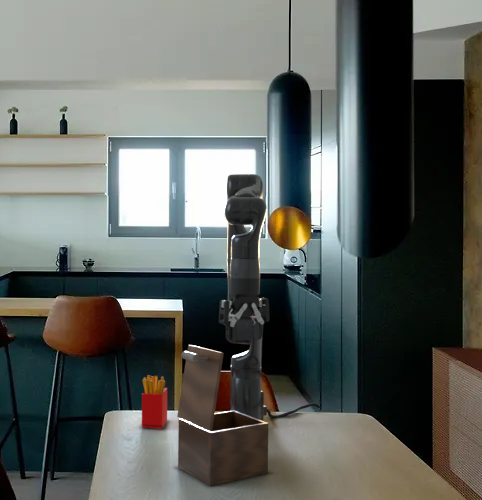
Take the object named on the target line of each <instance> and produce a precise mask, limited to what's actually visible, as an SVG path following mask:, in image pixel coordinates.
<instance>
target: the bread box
mask: <svg viewBox="0 0 482 500" xmlns="http://www.w3.org/2000/svg"><path fill="white" fill-rule="evenodd" d="M177 436H178V437H177V438H178V440H177V441H178V443H177V446H178V447H177V453H178V454H177V468H178V469H180V470H181V471H183V472H185V473H186V474H188V475H190V476H192V477H194V478H195V479H197V480H199V481H200V482H202V483H204V484H205V485H208V486H209V487H212V486H217V485H221V484H225V483H230V482H235V481H238V480H243V479H248V478H252V477H256V476H261V475H265V474H268V473H269V422H266V421H264V420H263V421H261V420H259V419H256V418H253V417H251V416H248V415H245V414H243V413H240V412H237V411H234V410H233V411H230V410H227V411H221V412H215V414H214V421H213V427H212V431H208V430H206V429H204V428H202V427H199V426H197V425H195V424H193V423H190V422H188V421H186V420H183V419H181V418H178V435H177Z"/></svg>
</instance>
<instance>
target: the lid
mask: <svg viewBox="0 0 482 500" xmlns="http://www.w3.org/2000/svg"><path fill="white" fill-rule="evenodd" d="M224 355H225V354H224V352H222V351H217V350H213V349H209V348H205V347H201V346H197V345H193V344H188V346H187V350H184V351H182V352H181V358H182V359H183V360H185V363H184V371H183V377H182V382H181V383H182V384H181V389H180V396H179V403H178V407H177V408H178V409H177V415H176V417H177V418H178V419H180V418H181V419H183V420H186V421H188V422H190V423H193V424H195V425H197V426H199V427H202V428H204V429H206V430H208V431H212V427H213V421H214V414H215V413H216V407H217V401H218V394H219V393H218V392H219V386H220V381H221V375H222V365H223V360H224Z"/></svg>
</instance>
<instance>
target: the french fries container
mask: <svg viewBox="0 0 482 500" xmlns="http://www.w3.org/2000/svg"><path fill="white" fill-rule="evenodd" d="M142 384H143V385H142V386H143V389H144V393H143V392H142V393H141V427H142V428H144V429H155V430H156V429H159V430H163V429H164V427H165V425H166V423H167V421H168V387H165V386H166V380H165V377H164V376H161V377H160V380H159V379H158V375H154V376H152V375H149V374H147V375H146V377H143V378H142Z"/></svg>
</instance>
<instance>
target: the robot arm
mask: <svg viewBox="0 0 482 500" xmlns="http://www.w3.org/2000/svg"><path fill="white" fill-rule="evenodd" d="M263 197H264V182H263V179H262V177H261V176H260V175H258V174H255V173H243V174H242V173H239V174H237V173H236V174H229V175H227V177H226V181H225V200H226V201H225V204H224V208H223V215H224V219H225V220H226V222H227V241H226V243H227V245H226V247H227V249H226V268H227V271H226V273H227V300H226V299H220V300H219V311H218V312H219V313H218V323H219V324H221V325H223V326H225V339H226V340H227V341H226V342H229V343H230V344H239V345H240V344H241V345H249V349H247V350H246V351H244V352H241V353H238V354H234V355H232V357H230V409H229V411H233V410H234V411H237V412H240V413H243V414H245V415H248V416H251V417H253V418H256V419H259V420H261V421H264V419H265V418H264V417H265V416H268V417H269V418H271V419H275V418H283V417H287V416H289V415H293V414H295V413H297V412H299V411H300V410H304V409H306V408H310V407H316V408H318V409H321V408H322V407H321V406H320V405H319V404H318V403H316V402H310V403H307V404H304V405H300V406H298V407H296V408H294V409H292V410H289V411H286V412H284V413H280V414H276V415H275V414H274V415H273V414H272V412H271V410H270V409H268V408H267V406H266V405H265V403H264V402H265V393H264V391H263V390H262V359H263V357H262V356H263V335H264V324H265V323H268V322H270V300H269V299H268V298H266V297H260V298H259V295H260V294H261V266H260V265H261V264H260V239H261V233H262V231H263V226H264V222H265V219H266V216H267V211H268V207H267V203H266V201H265V200H264V199H263ZM246 226H251V229H250V230H249V231H248V230H247V228H246ZM258 307H259V309H258Z"/></svg>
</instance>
